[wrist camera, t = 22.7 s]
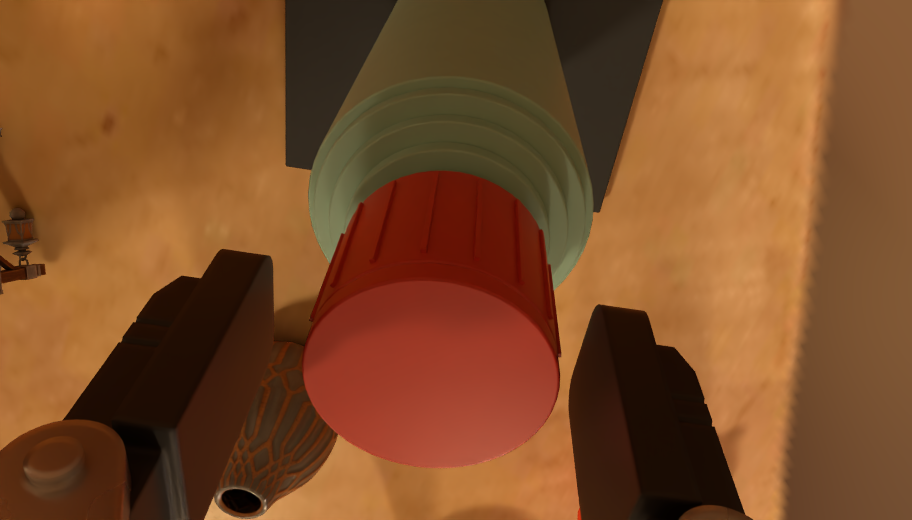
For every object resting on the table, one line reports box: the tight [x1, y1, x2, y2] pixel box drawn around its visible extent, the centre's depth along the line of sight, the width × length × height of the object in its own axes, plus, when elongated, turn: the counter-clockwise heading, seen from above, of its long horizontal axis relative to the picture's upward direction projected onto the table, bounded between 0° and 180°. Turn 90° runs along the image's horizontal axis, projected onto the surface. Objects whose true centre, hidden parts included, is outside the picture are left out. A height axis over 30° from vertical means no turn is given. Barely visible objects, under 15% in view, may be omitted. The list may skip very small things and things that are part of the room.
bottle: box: [308, 0, 594, 290], centre depth 18 cm, size 6×6×18 cm
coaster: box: [285, 0, 663, 212], centre depth 26 cm, size 14×14×1 cm
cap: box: [302, 171, 561, 468], centre depth 11 cm, size 4×4×3 cm
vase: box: [214, 341, 338, 519], centre depth 34 cm, size 7×7×9 cm
